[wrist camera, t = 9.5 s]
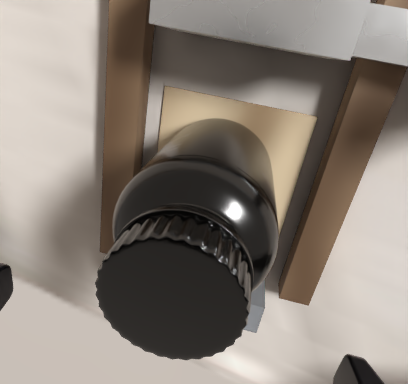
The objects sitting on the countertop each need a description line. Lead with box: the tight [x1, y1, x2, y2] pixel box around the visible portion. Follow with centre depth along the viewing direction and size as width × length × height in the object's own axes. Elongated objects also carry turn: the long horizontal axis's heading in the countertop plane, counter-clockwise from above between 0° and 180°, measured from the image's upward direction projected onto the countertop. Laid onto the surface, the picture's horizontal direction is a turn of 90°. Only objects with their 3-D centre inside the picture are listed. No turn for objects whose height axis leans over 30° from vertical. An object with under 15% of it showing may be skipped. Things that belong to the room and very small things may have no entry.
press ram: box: [149, 0, 408, 67], centre depth 12 cm, size 18×3×8 cm, turn 80°
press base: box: [100, 0, 408, 333], centre depth 17 cm, size 22×20×5 cm
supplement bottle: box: [95, 118, 279, 360], centre depth 15 cm, size 7×7×12 cm
